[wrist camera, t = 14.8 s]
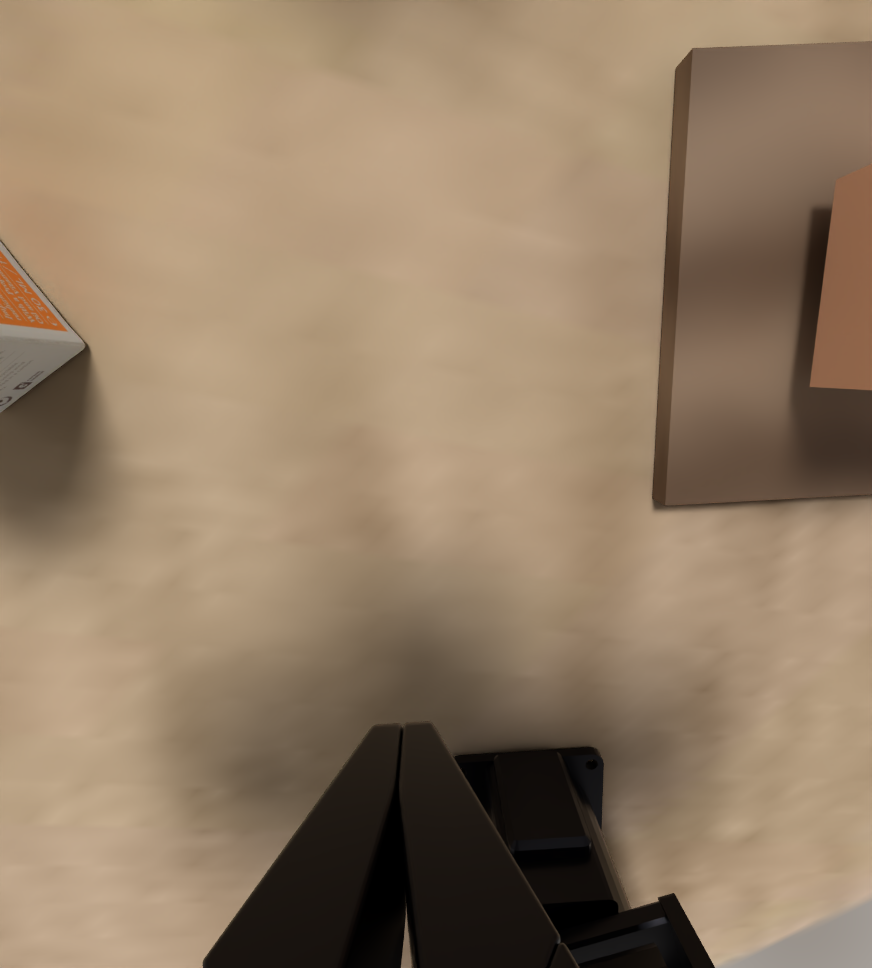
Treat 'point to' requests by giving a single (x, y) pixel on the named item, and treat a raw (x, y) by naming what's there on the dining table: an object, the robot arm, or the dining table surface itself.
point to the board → (758, 275)
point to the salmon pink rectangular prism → (847, 290)
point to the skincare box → (28, 333)
